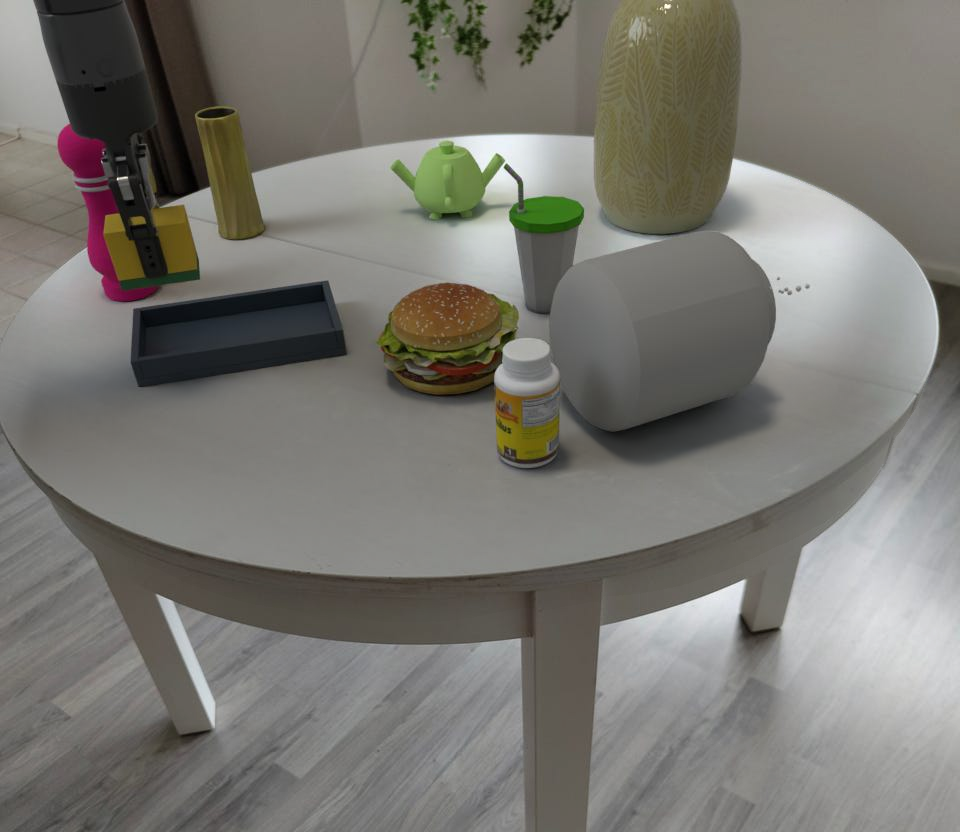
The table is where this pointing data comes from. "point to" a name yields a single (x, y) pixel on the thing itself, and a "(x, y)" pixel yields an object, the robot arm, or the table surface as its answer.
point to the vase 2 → (667, 112)
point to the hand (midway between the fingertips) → (157, 264)
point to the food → (447, 338)
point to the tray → (235, 333)
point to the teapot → (448, 179)
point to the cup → (544, 242)
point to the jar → (660, 328)
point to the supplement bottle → (527, 404)
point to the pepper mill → (95, 207)
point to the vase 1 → (229, 173)
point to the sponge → (173, 244)
